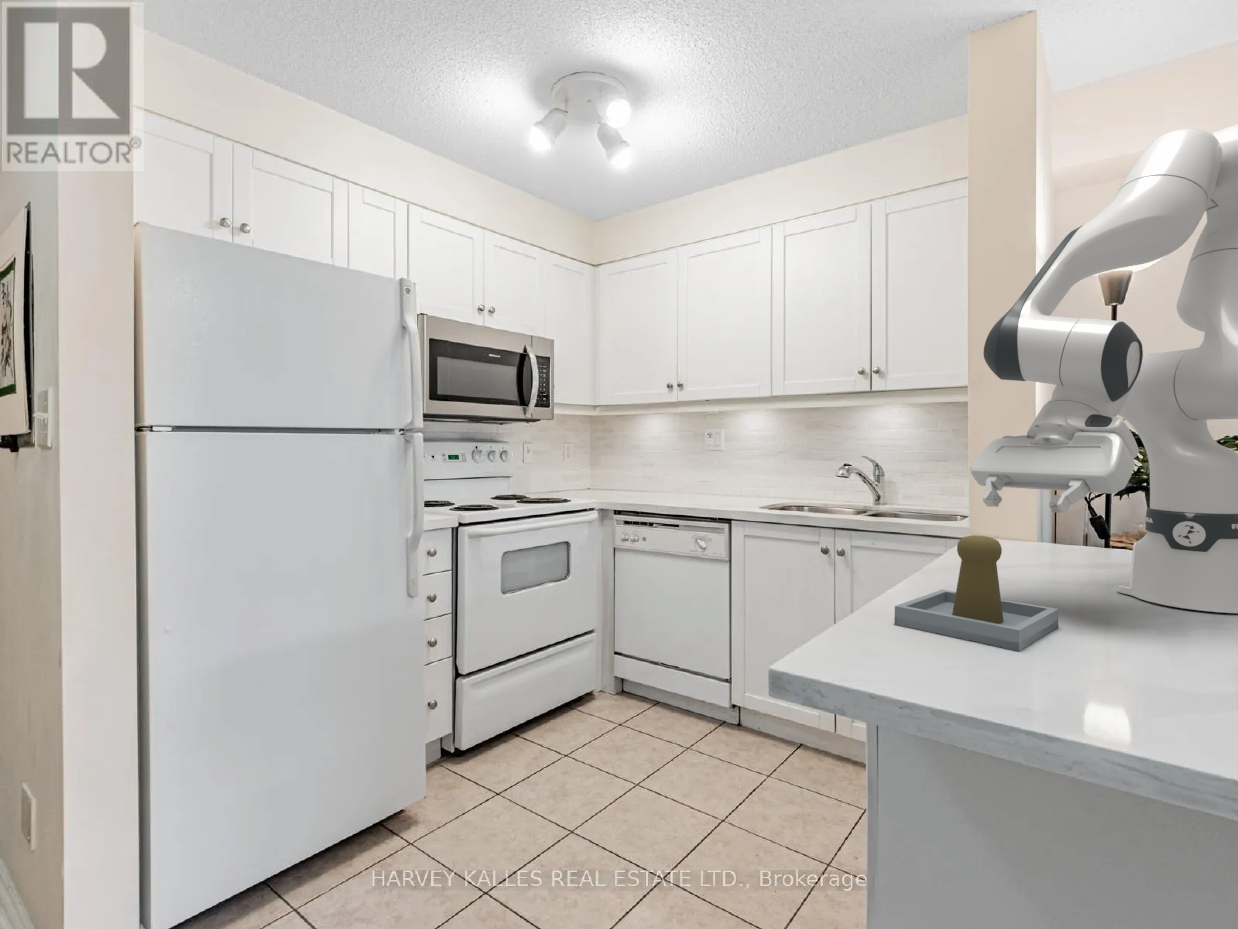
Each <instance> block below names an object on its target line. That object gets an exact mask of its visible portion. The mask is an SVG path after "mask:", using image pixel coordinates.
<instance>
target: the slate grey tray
mask: <svg viewBox="0 0 1238 929" xmlns="http://www.w3.org/2000/svg"><path fill="white" fill-rule="evenodd" d="M955 595H956V591H952V590H947V589H946V590H945V589H940V590H936V591H934V592H931V593H928V594H926V595H922V596H920V597H917V598H914V599H911V600H908V601H905V602H903V603H900V604H896V605H894V625H896V626H902V627H904V628H909V629H914V630H919V631H923V632H924V631H925V632H929V633H934V634H937V633H938V634H937V635H941V636H946V637H951V638H955V637H956V638H955V639H960V638H961V640H964V639H965V640H966V641H969V640H972V641H971V642H974V641H976V642H975V643H978V642H979V644H983V643H986V644H985V645H988V644H990V645H989V646H992V645H993V647H998V648H1001V647H1002V649H1007V650H1011V651H1015V652H1020V651H1022V650H1023V649H1025V648H1027V647H1029V646H1030V645H1032V644H1034V643H1035V642H1037V641H1038V640H1040V639H1043V638H1044V637H1045V636H1047V635H1048V634H1050V633H1052V632H1053V631H1055V630H1056V629H1058V628H1059V616H1060V615H1059V608H1055V607H1048V606H1045V605H1044V606H1042V605H1037V604H1030V603H1025V602H1018V601H1014V600H1013V601H1012V600H1008V599H1007V600H1006V599H1002V598H1001V605H1002V613H1003V623H1000V624H995V623H990V622H985V621H980V620H975V619H969V618H964V617H959V616H954V615H952V613H953V607H954V601H955Z"/></svg>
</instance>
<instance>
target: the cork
mask: <svg viewBox="0 0 1238 929" xmlns="http://www.w3.org/2000/svg"><path fill="white" fill-rule="evenodd" d="M957 542H958V543H957V545H956V546H957V547H956V548H957V549H956V551H957V554H958V557H959V558H960V560H961V561H960V567H959V573H958V579H957V585H956V591H955V592H956V595H955V601H954V607H953V613H952V615H954V616H959V617H964V618H969V619H975V620H980V621H985V622H990V623H995V624H1000V623H1003V613H1002V605H1001V599H1002V598H1001V591H1000V590H1001V589H1000V581H999V575H998V566H997V562H998V561H999V560H1000V559H1001V556H1002V552H1003V549H1002V545H1001V543H1000V542H999V540H998V539H995V538H992V537H991V536H990V537H989V536H986V535H985V536H984V535H969V536H968V535H967V536H963V537H961V538H960V539H959V540H958V541H957Z"/></svg>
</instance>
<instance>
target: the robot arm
mask: <svg viewBox="0 0 1238 929" xmlns="http://www.w3.org/2000/svg"><path fill="white" fill-rule="evenodd" d="M1205 213H1206V223H1205V224H1204V227H1203V229H1202V231H1201V233H1200V235H1199V236H1198V239H1197V241H1196V243H1195V246H1194V248H1193V251H1192V252H1191V256H1190V259H1189V263H1188V265H1187V269H1186V271H1185V275H1184V279H1183V282H1182V285H1181V288H1180V293H1179V296H1178V298H1177V302H1176V312H1177V313H1178V316H1179V318H1180V319H1181V321H1182V322H1183V323H1185V325H1187V326H1188V327H1190V328H1192V329H1195V330H1197V331H1200V332H1203V333H1204V335H1203V340H1202V343H1200V345H1199V346H1198V347H1194V348H1188V349H1179V350H1171V351H1165V352H1158V353H1157V352H1155V353H1150V354H1146V355H1143V352H1144V351H1143V344H1142V342H1141V339H1139V337H1138V335H1137V334H1136V332H1135V330H1133V329H1132V328H1131V327H1130V325H1129V324H1127V323H1125V322H1124V321H1123V320H1122V321H1119V320H1114V319H1113V320H1112V319H1103V318H1089V317H1069V316H1059V315H1058V316H1056V315H1052V314H1053V312H1054V311H1055V310H1056V308H1057V307H1058V306H1059V304H1060V303H1061V301H1062V300H1063V299H1064V298H1065V296H1066V295H1067V294H1068V292H1069V291H1070V289H1071V288H1072V287H1073V286H1074V285H1076V284H1078V283H1079V282H1080V281H1082V280H1084V279H1087V278H1089V277H1091V276H1095V275H1097V274H1102V273H1104V272H1109V271H1113V270H1117V269H1122V268H1128V267H1133V266H1138V265H1143V264H1144V265H1145V264H1148V263H1151V262H1154V261H1156V260H1159V259H1161V258H1164V257H1166V256H1168V255H1170V254H1172V253H1174V252H1176V251H1177V250H1178V249H1179V248H1181V247H1183V245H1184V244H1185V243H1186V242H1187V241H1188V240H1189V238H1191V236H1192V235H1194V234H1193V233H1194V232H1195V230H1196V229H1197V227H1198V225H1199V224H1200V222H1201V220H1202V218H1203V216H1204V214H1205ZM983 360H984V362H985V364H986V365H987V366H988V368H989V369H990V371H991V372H993V374H995V376H996V377H998V378H999V379H1000V380H1002V381H1014V382H1015V381H1017V382H1026V381H1029V382H1035V383H1041V384H1049V385H1055V387H1054V389H1053V391H1052V395H1051V399H1050V400H1048V401H1047V402H1046V403H1045V404H1044V405H1043V406H1042V407H1041V409H1040V411H1039V412H1038V414H1037V416H1036V417H1034V418H1035V419H1034V420H1033V422H1032V423H1031V425H1030V426H1029V428H1028V430H1027V432H1026V434H1025V435H1024V434H1023V435H1014V436H1013V435H1004V436H1002V438H997V439H995V440H992V441H991V442H990V443H988V444H987V445H986V446H985V447H984V448H983V450H981V452H980V453H979V454H978V455H977V456H976V458H975V459H974V460H973V462H972V463H971V464H970V467H969V470H970V474H971V476H972V477H973V478H974V480H975V481H976V483H977V484H978V485H979V486H981V487H982V486H983V487H986V493H985V494H984V496H983V498H982V502H983V503H984V504H985V506H986V507H994V508H995V507H996V508H998V507H999V505H1000V503H1002V501H1003V498H1002V496H1001V495H1000V493H999V491H1002V490H1003V489H1004V488H1010V489H1011V488H1012V489H1013V488H1014V489H1029V490H1044V491H1045V490H1046V491H1060V492H1061V491H1063V492H1062V493H1061V494H1059V495H1058V494H1057V495H1056V494H1053V496H1052V498H1051V500H1050V501H1049V508H1050V509H1051V511H1052V513H1060V514H1066V513H1067V512H1068V510H1069V509H1070V507H1071V506H1073V505H1074V504H1075V503H1077V502H1079V501H1081V500H1082V499H1084V498H1086V497H1087V495H1088V494H1089V493H1095V494H1096V493H1097V494H1110V495H1111V494H1116V493H1118V492H1120V491H1122V490H1124V489H1125V488H1126V486H1127V484H1128V483H1129V481H1130V480H1131V476H1132V474H1133V472H1134V469H1135V464H1136V463H1135V460H1134V459H1135V458H1136V457H1138V455H1139V452H1140V450H1139V447H1138V443H1137V442H1136V439H1135V437H1134V436H1133V433H1132V432H1131V430H1130V429H1129V427H1128V425H1127V424H1126V423H1125V421H1126V422H1127V423H1128V424H1129V425H1131V427H1132V428H1133V429H1134V430H1135V432H1136V433H1137V435H1138V437H1139V438H1140V440H1141V442H1142V444H1143V446H1144V448H1145V452H1146V455H1147V456H1146V457H1147V460H1148V466H1149V467H1148V468H1149V507H1148V508H1146V513H1145V516H1144V522H1145V531H1147V532H1146V534H1145V535H1144V536H1143V537H1141V538H1140V539H1138V540H1137V541H1136V542H1134V543H1133V546H1132V556H1131V568H1130V579H1129V580H1130V581H1129V583H1123V584H1119V585H1117V591H1116V592H1118V593H1121V594H1124V595H1130V596H1133V597H1135V598H1137V599H1140V600H1143V601H1146V602H1150V603H1153V604H1158V605H1163V606H1166V607H1167V606H1168V607H1174V608H1180V609H1187V610H1193V611H1194V610H1195V611H1200V612H1201V611H1203V612H1213V613H1222V614H1223V613H1226V614H1238V452H1236V451H1234V450H1233V449H1231V448H1228V447H1226V446H1223V445H1222V444H1220V443H1218V442H1217V441H1216V440H1215V438H1213V436H1212V435H1211V433H1210V430H1209V427H1208V421H1209V420H1210V421H1211V420H1238V123H1236V124H1234V125H1230V126H1228V127H1226V128H1222V129H1219V130H1216V131H1214V132H1212V133H1210V132H1209V131H1206V130H1204V129H1200V128H1193V127H1192V128H1191V127H1188V128H1179V129H1175V130H1171V131H1169V132H1167V133H1164V134H1162V135H1160V136H1158V137H1157V138H1156V139H1155V140H1153V141H1152V142H1151V143H1150V144H1149V145H1148V146H1147V147H1146V148H1145V150H1144V151H1143V152H1142V153H1141V154H1140V156H1139V157H1138V158H1137V160H1136V161H1135V163H1134V164H1133V165H1132V167H1131V168H1130V170H1129V171H1128V173H1127V174H1126V175H1125V177H1124V179H1123V181H1122V183H1121V184H1120V186H1119V188H1118V190H1117V192H1116V194H1115V196H1114V197H1113V199H1112V200H1111V201H1110V203H1109V204H1108V205H1107V206H1106V207H1105V208H1104V209H1103V210H1102V211H1100V213H1099V214H1097V215H1096V216H1095V217H1093V218H1091V220H1089V221H1087V223H1084V224H1083V225H1080V226H1079V227H1077V228H1075V229H1073V230H1071V231H1070V232H1069V233H1068V234H1067V235H1066V236H1065V237H1064V238H1063V239H1062V241H1061V242H1060V243H1059V244H1058V246H1057V247H1056V248H1055V250H1054V251H1053V252H1052V253H1051V255H1050V256H1049V257H1048V259H1046V261H1045V262H1044V264H1043V265H1042V267H1041V268H1040V269H1039V270H1038V272H1037V273H1036V275H1035V276H1034V277H1033V278H1032V280H1031V281H1030V283H1028V285H1027V287H1026V288H1025V290H1024V291H1023V292H1022V294H1021V295H1020V296H1019V297H1018V299H1017V300H1016V302H1015V303H1014V304H1013V306H1011V308H1010V309H1009V310H1008V311H1007V312H1005V314H1003V316H1001V318H1000V319H998V320H997V321H996V323H994V325H993V326H992V328H991V329H990V331H989V333H988V334H987V337H986V340H985V343H984V346H983ZM1118 416H1119V417H1118ZM1123 419H1124V420H1125V421H1124V420H1123Z"/></svg>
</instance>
